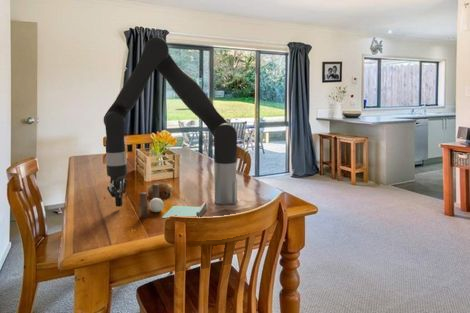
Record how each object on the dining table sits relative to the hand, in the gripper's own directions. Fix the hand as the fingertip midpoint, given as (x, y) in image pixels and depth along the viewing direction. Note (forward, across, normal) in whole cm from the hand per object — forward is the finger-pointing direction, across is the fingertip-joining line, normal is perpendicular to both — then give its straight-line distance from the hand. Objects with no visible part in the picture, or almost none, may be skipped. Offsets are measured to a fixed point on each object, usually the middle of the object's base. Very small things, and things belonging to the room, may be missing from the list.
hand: (119, 205), depth 140 cm
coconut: (+2, +21, -9) cm, 23 cm away
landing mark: (+2, 0, -27) cm, 27 cm away
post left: (+2, -6, -13) cm, 15 cm away
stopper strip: (+2, 0, -34) cm, 34 cm away
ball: (-1, 0, -16) cm, 16 cm away
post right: (+2, +6, -13) cm, 15 cm away
